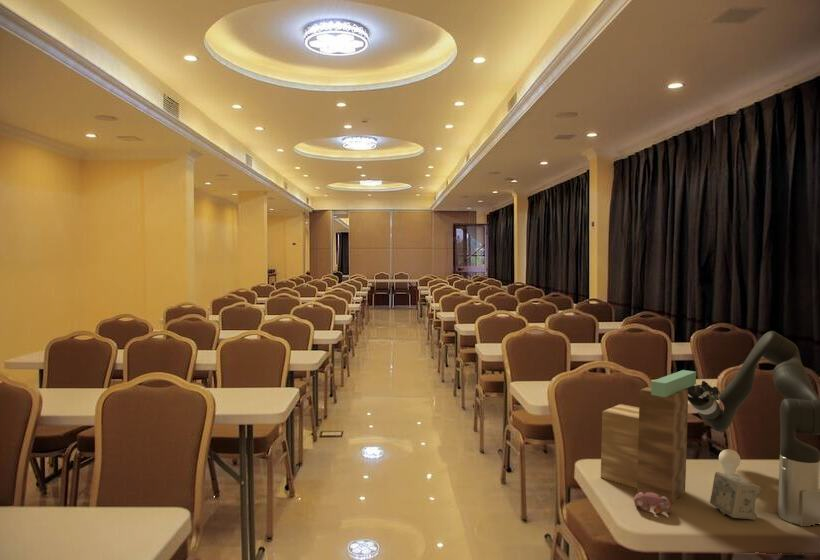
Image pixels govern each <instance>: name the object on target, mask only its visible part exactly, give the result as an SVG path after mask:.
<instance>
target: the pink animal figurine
mask: <svg viewBox="0 0 820 560" xmlns="http://www.w3.org/2000/svg"><path fill="white" fill-rule="evenodd" d="M633 498H634V499H633V501H634V506H635V507H637V508H638V507H640V509H641V510H642V511H643V512H650V511H651V505H653V512H654V514H657V515H662V514H663V513H664V512H665V513H668V514H670V513H671V512H672V509H673V508H672V504H671V503H670V501H669V500H668V499H667V498H666V497H665V496H660V495H658V494H655V493H643V492H639V493H638V494H637V493H636V494H635V496H634V497H633Z"/></svg>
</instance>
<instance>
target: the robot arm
mask: <svg viewBox="0 0 820 560" xmlns="http://www.w3.org/2000/svg"><path fill="white" fill-rule="evenodd" d="M762 358H764V359H765V360H768V361H770V362H771V363H773V365H775V367H774V368H773V370H772V373H771V374H772V377H771V378H772V381H773V384H774V387H775V389H776V391H777V392H778V393H779V394H780V395H781V396H782V397H783V399H782V401H781V403H780V406H779V425H780V428H779V429H780V430H779V431H780V432H779V433H780V435H779V465H778V466H779V467H778V468H779V469H778V491H777V492H778V493H777V494H778V495H777V497H778V498H777V515H778V517H779V518H780V519H781V520H783V521H786V522H788V523H791V524H794V525H798V526H801V527H810V526H811V525H813V526H816V525H815V524H819V523H820V488H819V487H820V450H819V449H818V448H816V447H815V446H813V445H811V444H808V443H807V442H803V441H801V439H799V438H797V437H796V434H804V435H811V436H812V435H813V436H820V397H819V396H818V394H817V392H816V390H815V389H814V387H813V385H812V383H811V379H810V377H809V375H808V373H807V371H806V369H805V367H804V364H803V363H802V360H801V359H802V358H801V355H800V350H799V348H798V346H797V345H796V343H794V342H793V341H792V340H790V339H788V338H786V337H785V336H783V335H782V334H780V333H778V332H776V331H775V330H770V331H767V332H766V333H764V334H763V335H762V336H761V337H760V338H759V339H758V341H756V343H755V345H754V346H753V347H752V349H751V350H750V352H749V354H748V355H747V357H746V358H745V360H744V362H743V363H742V364H741V367H740V368H739V370H738V371H737V372H736V374H735V376H734V377H733V378H732V379H731V380H730V382H729V383H728V384H727V385H726V386H725V388H723V390H722V391H720V390H719V388H718V386H713V387H712V386H711V384H709V383H708V382H706V381H705V380H701V381H702V382H701V383H700V384H695V385H693V386H690V387H688V388H686V389H688V403H690V404H691V406H692V407H693V409H695V411H697V413H698V415H699V416H700V418H701V419H702V420H703V421H704V422H705V423H707V424H708V425H709V426H710V427H711V428H712V429H713V430H715V431H716V432H719V433H721V432H725V431H726V430H727V429H728V428H729V427H730V426H731V424H732V422H733V420H734V418H735V415H736V414H737V410H738V409H739V407H740V406H741V405H742V404H743V403H744V402H745V400H746V399H747V398H749V396H750V395H751V393H752V391H753V390H754V389H753V388H754V384H755V373H756V369H757V366H758V364H759V362H760V360H762ZM718 401H720V402H721V403H722V405H723V408H721V407H720V404H719V403H718ZM811 527H812V526H811Z"/></svg>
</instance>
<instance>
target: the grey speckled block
mask: <svg viewBox="0 0 820 560" xmlns="http://www.w3.org/2000/svg"><path fill="white" fill-rule="evenodd" d="M712 484H713V485H712V490H711V495H710V499H709V500H710V501H709V503H710V505H712V506H713V507H715V508H717V509H718V510H720V513H721V514H722V515H723V516H725V515H727V516H730V517H731V518H733V519H741V520H742V519H747V520H752V521H756V520H757V518H758V517H757V514H756V513H755V510H756V509H755V507H756V498H757V497H758V496H759V495H760V492H761V486H760V485H758V484H754V483H751V482H749V481H747V480H746V479H744V478H742V477H741V476H740V475H739V474H737V473H735V474H729V473H724V472H720V471H715V473H714V478H713V483H712Z"/></svg>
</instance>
